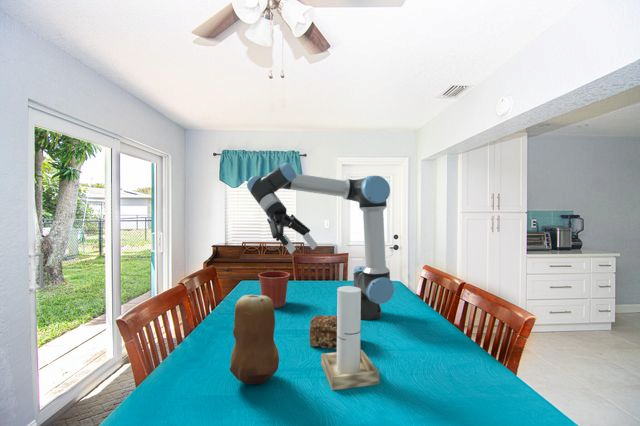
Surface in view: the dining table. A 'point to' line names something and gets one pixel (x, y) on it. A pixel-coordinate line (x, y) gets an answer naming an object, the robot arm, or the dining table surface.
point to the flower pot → (274, 286)
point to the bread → (324, 331)
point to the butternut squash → (254, 340)
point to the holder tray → (337, 381)
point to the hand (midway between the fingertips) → (304, 249)
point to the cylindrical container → (348, 329)
